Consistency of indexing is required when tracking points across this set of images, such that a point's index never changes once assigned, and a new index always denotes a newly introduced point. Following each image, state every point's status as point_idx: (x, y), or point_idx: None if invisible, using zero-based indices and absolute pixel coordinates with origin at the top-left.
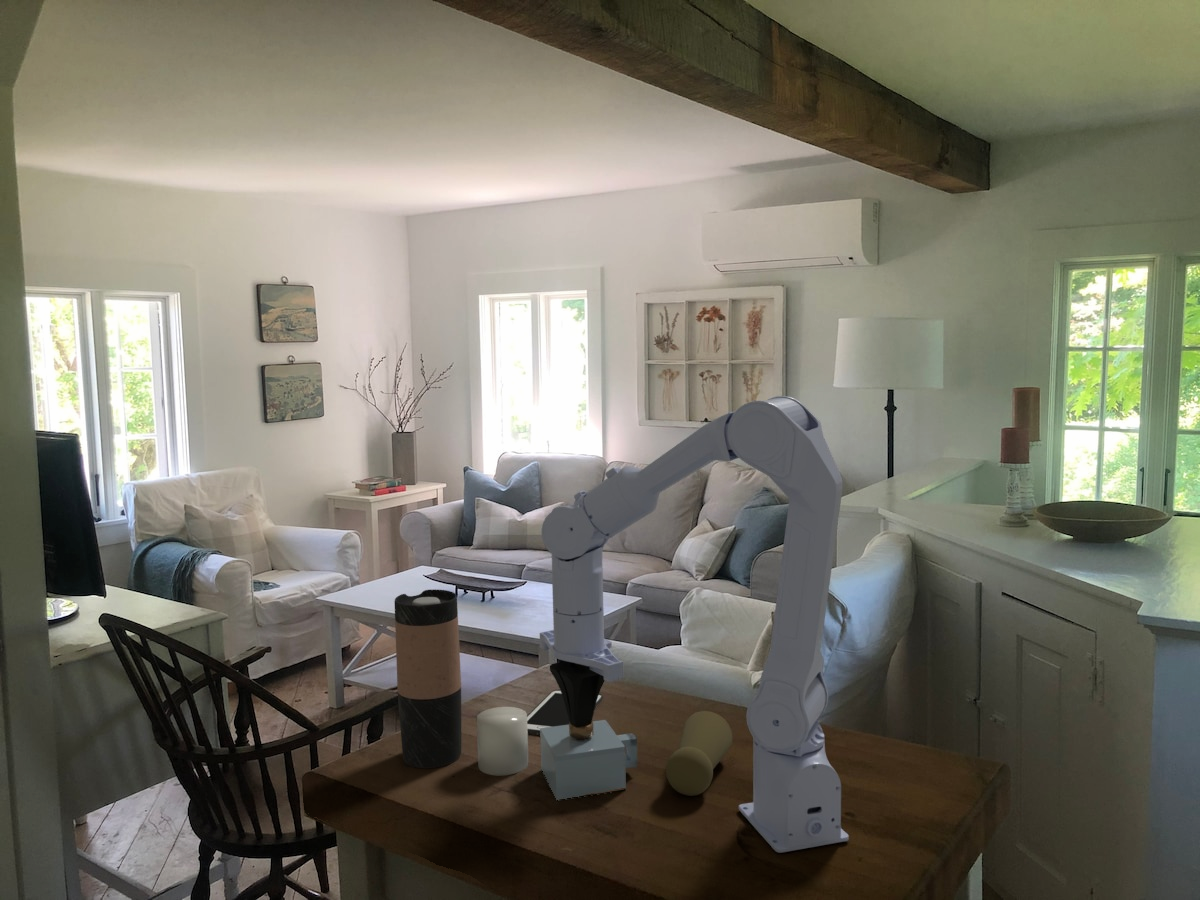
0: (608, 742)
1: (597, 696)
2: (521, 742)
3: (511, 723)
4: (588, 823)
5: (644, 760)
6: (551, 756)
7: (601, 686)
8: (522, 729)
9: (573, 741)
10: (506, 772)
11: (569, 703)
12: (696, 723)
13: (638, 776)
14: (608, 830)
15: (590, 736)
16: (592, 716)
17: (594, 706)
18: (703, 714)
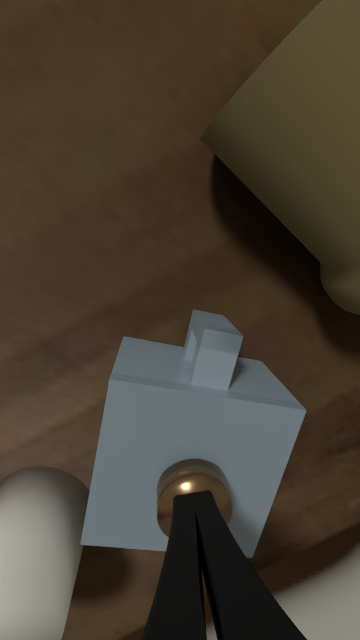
0: (259, 435)
1: (261, 581)
2: (69, 541)
3: (52, 621)
4: (317, 457)
5: (164, 260)
6: None
7: (303, 637)
8: (58, 572)
9: None
10: None
11: (206, 637)
12: (330, 127)
13: (224, 311)
14: (353, 440)
15: (223, 476)
16: (218, 508)
17: (234, 540)
18: (313, 51)
